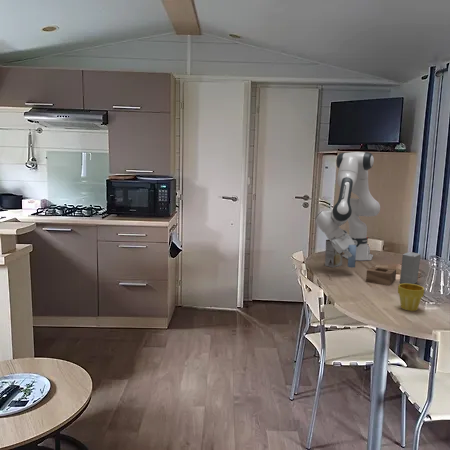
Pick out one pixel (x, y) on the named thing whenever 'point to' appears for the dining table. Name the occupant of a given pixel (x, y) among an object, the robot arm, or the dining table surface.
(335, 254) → the coffee box
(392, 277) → the socket block
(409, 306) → the plant pot
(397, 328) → the dining table surface
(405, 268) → the skincare box
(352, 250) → the pin
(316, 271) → the dining table surface
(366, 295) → the dining table surface
